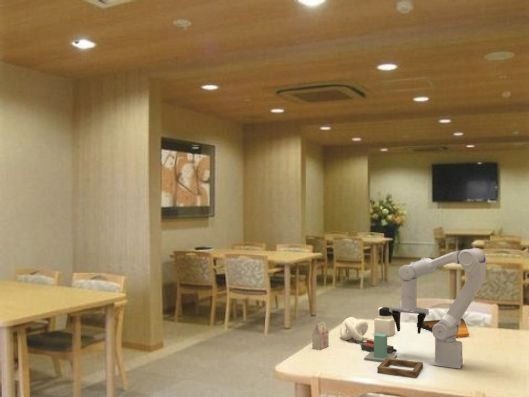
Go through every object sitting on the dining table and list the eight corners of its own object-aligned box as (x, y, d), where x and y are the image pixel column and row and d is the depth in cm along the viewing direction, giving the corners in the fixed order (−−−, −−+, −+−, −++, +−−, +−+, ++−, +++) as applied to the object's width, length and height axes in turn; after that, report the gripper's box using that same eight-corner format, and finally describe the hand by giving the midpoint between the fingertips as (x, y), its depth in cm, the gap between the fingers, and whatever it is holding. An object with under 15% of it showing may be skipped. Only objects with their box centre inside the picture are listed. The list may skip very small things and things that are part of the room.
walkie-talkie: (399, 353, 218) (357, 343, 233) (400, 341, 218) (357, 333, 233) (387, 357, 212) (345, 347, 226) (387, 345, 212) (345, 336, 226)
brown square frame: (422, 368, 197) (422, 362, 197) (415, 378, 185) (415, 372, 185) (386, 363, 203) (386, 357, 203) (377, 372, 191) (377, 367, 191)
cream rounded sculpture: (360, 335, 246) (360, 315, 246) (374, 342, 234) (374, 320, 234) (337, 337, 242) (337, 316, 242) (349, 344, 231) (350, 322, 231)
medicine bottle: (395, 334, 249) (395, 307, 249) (389, 337, 243) (389, 309, 243) (379, 332, 253) (380, 305, 253) (374, 335, 247) (374, 308, 247)
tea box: (312, 348, 223) (312, 323, 223) (320, 345, 228) (320, 321, 228) (320, 350, 220) (320, 325, 221) (328, 346, 226) (328, 322, 226)
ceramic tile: (397, 356, 211) (397, 354, 211) (390, 363, 202) (390, 361, 202) (371, 353, 216) (371, 351, 216) (364, 359, 207) (364, 357, 207)
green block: (387, 355, 210) (387, 334, 210) (384, 358, 206) (384, 336, 206) (376, 354, 212) (376, 333, 212) (374, 356, 208) (374, 335, 208)
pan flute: (460, 324, 272) (416, 327, 264) (460, 317, 272) (416, 320, 264) (496, 335, 249) (450, 339, 241) (496, 328, 249) (450, 332, 241)
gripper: (387, 296, 211) (387, 332, 211) (426, 299, 205) (426, 336, 205) (391, 293, 218) (391, 328, 217) (429, 296, 211) (429, 332, 211)
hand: (408, 332), depth 212 cm, fingers open, 7 cm apart
